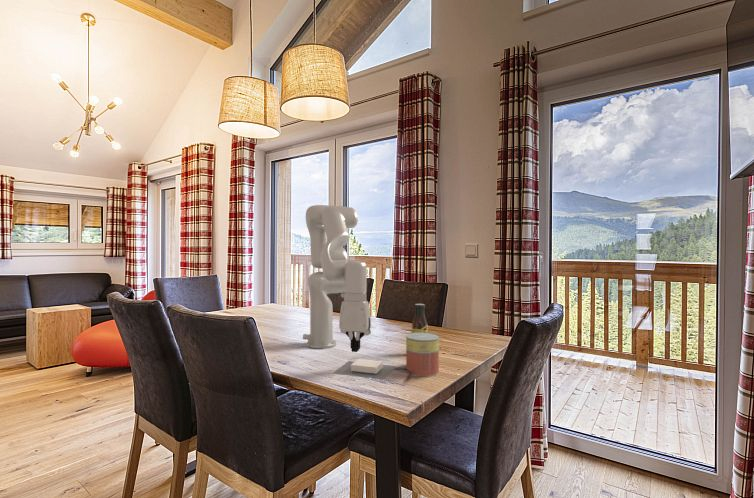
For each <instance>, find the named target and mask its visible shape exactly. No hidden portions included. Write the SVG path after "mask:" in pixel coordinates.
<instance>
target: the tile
mask: <svg viewBox="0 0 754 498" xmlns="http://www.w3.org/2000/svg"><path fill="white" fill-rule="evenodd" d="M353 362H354V363H353V364H351V371H354V372H363V373H372V374H377V373H378V372H379V371H380V370H381V369H382V368H383V365H384V361H382V360H372V359H364V358H363V359H362V358H357V359H356V360H355V361H353Z"/></svg>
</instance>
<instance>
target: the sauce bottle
mask: <svg viewBox="0 0 754 498" xmlns="http://www.w3.org/2000/svg"><path fill="white" fill-rule="evenodd" d="M425 309H426V304H424V303H415V304H414V312H415V313H414V317H413V318H412V322H411V324H412V325H411V333H420V332H421V333H429V331H428V330H429V328H428V322H427V318H426V315H425Z"/></svg>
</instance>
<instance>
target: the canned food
mask: <svg viewBox="0 0 754 498" xmlns="http://www.w3.org/2000/svg"><path fill="white" fill-rule="evenodd" d="M405 337H406V343H405V345H406V351H405V355H406V357H405V360H406V362H405V364H406V366H405V368H406V370H407V371H409V373H408V374H409V375H411V376H415V377H426V378H427V377H433V376H437V375H438V374H439V373H440V370H439V369H440V368H439V367H440V365H439V364H440V360H439V359H440V355H439V354H440V336H439V335H438V334H435V333H430V332H428V333H421V332H420V333H412V332H411V333H407V334H406V335H405Z"/></svg>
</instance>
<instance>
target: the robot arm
mask: <svg viewBox="0 0 754 498" xmlns="http://www.w3.org/2000/svg"><path fill="white" fill-rule="evenodd" d="M358 218H359V216H358V213H357V212H356V210H355V209H354V208H353V207H349V206H343V205H342V206H341V205H325V204H315V205H310V206H309V207H307V209H306V212H305V224H306V227H307V230H308V233H309V238H310V240H309V241H310V262H311V266H312V267H313V268H315V269H322V270H321V271H316V272H315V271H314V272H313V273H311V274H310V275H309V276H308V279H307V284H308V291H309V299H310V300H309V301H310V302H309V303H310V304H309V305H310V306H309V307H310V308H309V309H310V311H309V312H310V315H309V319H310V320H309V325H310V326H309V328H310V329H309V331H310V334H309V333H304V334H302V340H307V342H306V347H308V348H310V349H323V350H324V349H329V348H333V347H336V345H337V341H336V340H334V337H333V336H334V335H333V331H334V329H333V327H334V326H333V325H334V324H333V321H334V318H333V315H334V314H333V312H334V311H333V307H334V306H333V302H332V300H331V299H330V297H329V296H328V295H331V294H340V297H341V298H343V301H341V305H340V312H339V324H338V326H339V330H340V333H341V334H344V335H346V336H347V337H348V339H349V340H350V349H351V352H352V353H357V352H359V351H360V349H361V339H362V338H363V337H364V336H369V335H371V334H372V332H371V327H372V326H371V325H372V323H371V322H372V321H371V319H372V318H371V309H370V304H369V301H368V300H367V278H368V277H367V275H368V274H367V273H368V271H367V263H366V262H365V261H361V260H356V259H349V258H348V252H347V250H346V249H345V248H344V246H346V245H347V244H348V242H349V241H350V234H349V231H348V229H354V228H355V227H356V226H358V221H359V220H358Z"/></svg>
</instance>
